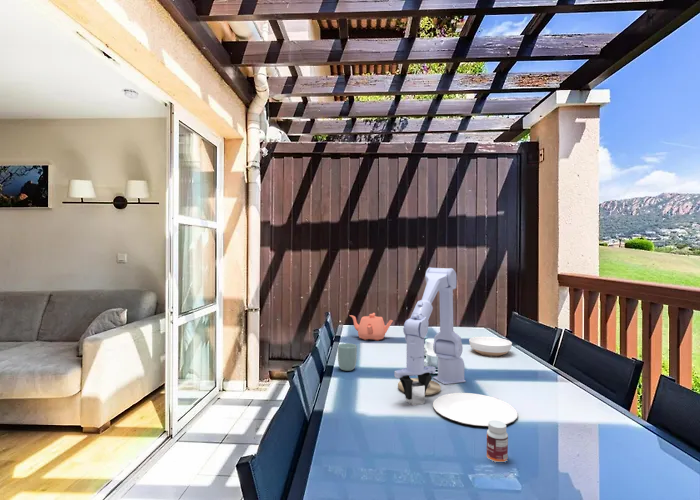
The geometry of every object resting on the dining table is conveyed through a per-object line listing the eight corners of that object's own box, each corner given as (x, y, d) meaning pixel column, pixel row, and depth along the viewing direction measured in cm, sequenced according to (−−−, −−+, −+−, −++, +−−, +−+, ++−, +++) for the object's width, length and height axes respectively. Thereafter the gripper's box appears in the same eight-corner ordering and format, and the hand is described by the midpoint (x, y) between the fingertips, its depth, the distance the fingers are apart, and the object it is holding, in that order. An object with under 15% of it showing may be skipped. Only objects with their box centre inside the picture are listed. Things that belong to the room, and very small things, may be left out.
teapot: (348, 337, 221) (348, 313, 221) (373, 333, 232) (374, 310, 232) (368, 344, 206) (369, 318, 206) (394, 339, 217) (394, 314, 217)
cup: (354, 373, 158) (354, 348, 158) (335, 371, 160) (336, 347, 160) (358, 367, 166) (358, 343, 166) (340, 366, 167) (340, 342, 167)
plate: (473, 438, 104) (473, 432, 104) (416, 405, 127) (416, 399, 127) (536, 420, 116) (536, 414, 116) (473, 392, 138) (473, 387, 138)
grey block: (417, 399, 131) (417, 380, 131) (424, 404, 127) (424, 384, 127) (405, 400, 129) (405, 381, 129) (412, 405, 125) (412, 386, 125)
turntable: (410, 377, 150) (410, 367, 150) (447, 386, 141) (447, 375, 141) (389, 388, 138) (389, 377, 138) (428, 398, 129) (428, 387, 129)
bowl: (515, 352, 193) (515, 339, 193) (507, 361, 176) (507, 347, 176) (474, 346, 203) (475, 334, 203) (464, 355, 187) (464, 342, 187)
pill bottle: (483, 454, 96) (483, 419, 96) (501, 453, 96) (502, 419, 96) (491, 464, 91) (492, 428, 91) (511, 463, 92) (511, 428, 92)
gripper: (427, 350, 135) (426, 390, 135) (389, 354, 129) (389, 396, 129) (439, 355, 128) (439, 397, 128) (400, 360, 122) (400, 404, 122)
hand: (415, 397), depth 128 cm, fingers closed on grey block, 5 cm apart
